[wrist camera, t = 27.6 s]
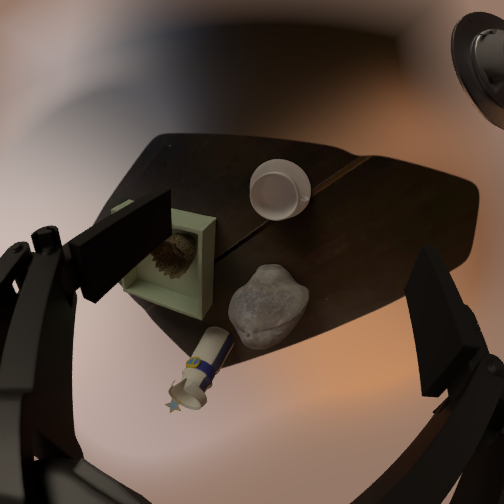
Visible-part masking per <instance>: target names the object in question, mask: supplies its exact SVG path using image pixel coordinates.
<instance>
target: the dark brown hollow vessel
mask: <svg viewBox="0 0 504 504" xmlns="http://www.w3.org/2000/svg"><path fill="white" fill-rule="evenodd" d="M150 254H151V255H152V256H153V259H152V261H156V264H155V267H156V268H158V271H159V272H162V271H165V272H164V275H165V276H166V275H169V277H170V278H171V279H174V278H177V279H179V278H180V277H181V276H182V275H183V274H185V273H186V271H187V270H188V268H189V267H190V265H191V264H192V262H193V260H194V258H195V255H196V241H195V238H194V237H193V236H192V235H190V234H183V233H175V234H172V235H171V236H170V237H169V238H168V239H167V240H166V241H164V242H163V243H162V244H161V245H160V246H159V247H157V248H156V249H155V250H154V251H153V252H152V253H150Z"/></svg>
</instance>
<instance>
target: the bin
mask: <svg viewBox="0 0 504 504" xmlns="http://www.w3.org/2000/svg"><path fill="white" fill-rule="evenodd" d="M132 202H134V201H132V200H127V201H125V202H124V203H122V204H120V205H118V206H116V207H115V208H113V209H111V214H113V213H115V212H116V211H118V210H120V209H121V208H123V207H125V206H127V205H128V204H130V203H132ZM171 217H172V234H175V233H183V234H190V235H192V236H193V237H194V238H195V241H196V255H195V258H194V260H193V262H192V264H191V265H190V267H189V268H188V270H187V271H186V273H185V274H183V275H182V276H181V277H180V278H179V279H177V278H174V279H171V278H170V277H169V275H166V276H165V275H164V272H165V271H162V272H159V271H158V268H156V267H155V264H156V261H152V259H153V256H152V255H151V254H149V255H148V256H147V257H146V258H145V259H144V260H142V261H141V262H140V263H139V264H138V265H137V266H136V267H134V268H133V269H132V270H131V271H130V272H129V273H128V274H127V275H126V276H124V277H123V278H122V279H121V280H122V285H123V290H124V291H125V292H127V293H129V294H132V295H134V296H137V297H139V298H142V299H144V300H147V301H149V302H152V303H155V304H157V305H160V306H163V307H165V308H168V309H171V310H174V311H176V312H179V313H182V314H185V315H188V316H191V317H194V318H197V319H199V320H202V319H203V318H204V316H205V315H206V313H207V312H208V310H209V309H210V307H211V305H212V304H213V276H214V251H215V231H216V218H214V217H209V216H204V215H200V214H195V213H191V212H186V211H181V210H176V209H172V208H171Z"/></svg>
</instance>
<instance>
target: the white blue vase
mask: <svg viewBox="0 0 504 504" xmlns="http://www.w3.org/2000/svg"><path fill="white" fill-rule="evenodd" d="M233 345H234V338H233V337H232V335H231V334H230V333H229V332H228V331H226V330H224V329H222V328H220V327H209V328H207V329H206V331H205V333H204V335H203V337H202V339H201V341H200V342H199V344H198V346H197V348H196V349H195V351H194V353H193V355H192V357H191V358H190V359H189V360H188V361H187V362H186V367H187V368H186V369H184V370H183V372H182V374H183V376H182V379H181V381H180V382H179V383H178V384H177V385H175V386H173V383H174V382H173V383H172V385H171V387H170V389H169V394H170V396H171V397H172V400H171V403H168V404H165V405H166V406H168V407H170V412H172V411H174V410H179V411H181V410H180V408H179V406H178V405H179V404H180V405H182V406H184V407H186V408H189V409H193V410H198V409H200V408H201V407H203V406H204V405H205V404H206V402H207V397H206V395H205V391H206V390H207V389H209V388H211V386H212V380H213V378H214V376H215V375H216V374H217V373H218V372H219V371H220V369H221V367H222V365H223V363H224V361H225V359H226V358H227V356H228V354H229V352H230V351H231V349H232V347H233Z"/></svg>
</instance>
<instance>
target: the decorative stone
mask: <svg viewBox="0 0 504 504" xmlns="http://www.w3.org/2000/svg"><path fill="white" fill-rule="evenodd" d="M308 301H309V290H308V289H307V288H306V287H304V286H301V285H299V284H298V283H297V282H296V281H295V280H294V279H293V277H292V276H291V275H290V273H289V272H288V271H287V270H286V269H285V268H283V267H282V266H281V265H277V264H271V265H262V266H260V267H259V268H258V269H257V270H256V273H255V274H254V275H253V276H252V278H251V279H250V280H249V282H248V283H247V284H246V285H244V286H243V287H241V288H239V289H238V290H237V291H236V292H235V293H234V295H233V296H232V299H231V302H230V305H229V310H228V315H229V319H230V321H231V322H232V324H233V325H234V327H235V329H236V330H237V332H238V335H239V336H240V338H241V340H242V342H243V344H244V345H245V346H247V347H248V348H250V349H254V350H263V349H267V348H269V347H272V346H273V345H275V344H277V343H279V342H280V341H282V340H283V339H284V338H285V337H286V336H287V335H288V334H289V333H290V332H291V330H292V329H293V328H294V327H295V325H296V324H297V323H298V322H299V320H300V319H301V317H302V315H303V314H304V312H305V309H306V306H307V303H308Z"/></svg>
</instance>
